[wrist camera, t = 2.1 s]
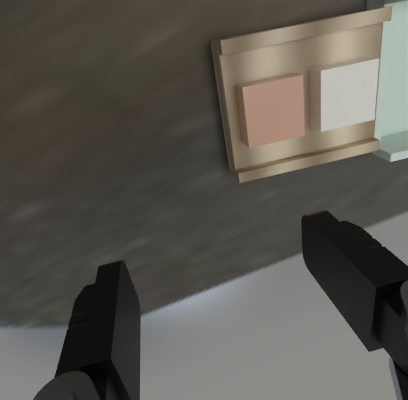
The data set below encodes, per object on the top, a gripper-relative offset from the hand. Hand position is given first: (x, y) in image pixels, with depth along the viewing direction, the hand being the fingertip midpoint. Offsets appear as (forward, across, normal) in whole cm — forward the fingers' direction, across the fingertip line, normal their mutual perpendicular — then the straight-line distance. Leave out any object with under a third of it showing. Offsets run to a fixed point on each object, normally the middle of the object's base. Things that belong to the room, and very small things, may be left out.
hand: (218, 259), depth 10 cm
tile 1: (+19, -8, 0) cm, 20 cm away
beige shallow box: (+22, -12, 0) cm, 25 cm away
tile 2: (+19, -15, 0) cm, 24 cm away
